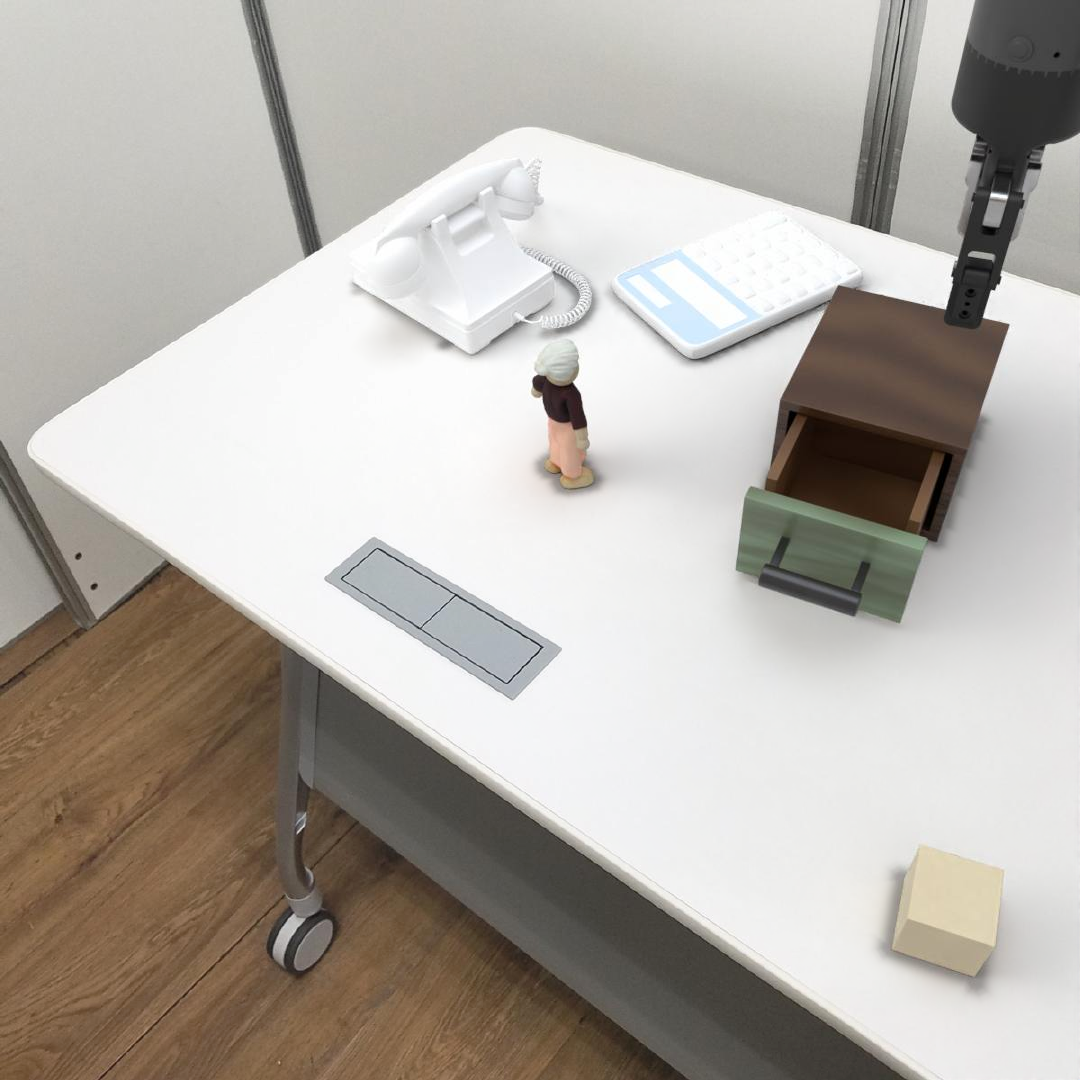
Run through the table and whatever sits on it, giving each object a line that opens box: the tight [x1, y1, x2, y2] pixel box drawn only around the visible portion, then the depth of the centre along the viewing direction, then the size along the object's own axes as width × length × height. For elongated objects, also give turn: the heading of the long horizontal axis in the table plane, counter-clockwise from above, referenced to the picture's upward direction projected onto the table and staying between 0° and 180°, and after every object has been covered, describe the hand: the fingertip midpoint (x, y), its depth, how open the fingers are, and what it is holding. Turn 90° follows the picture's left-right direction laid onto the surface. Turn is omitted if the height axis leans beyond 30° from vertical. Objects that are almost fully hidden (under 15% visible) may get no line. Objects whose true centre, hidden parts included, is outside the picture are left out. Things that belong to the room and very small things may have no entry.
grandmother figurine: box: [530, 337, 595, 490], centre depth 84 cm, size 8×4×13 cm, turn 42°
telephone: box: [348, 157, 593, 355], centre depth 100 cm, size 25×21×12 cm
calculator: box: [611, 210, 864, 360], centre depth 102 cm, size 13×20×2 cm, turn 121°
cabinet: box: [769, 285, 1010, 543], centre depth 84 cm, size 15×13×10 cm
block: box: [891, 844, 1005, 978], centre depth 61 cm, size 4×4×4 cm
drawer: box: [735, 413, 947, 624], centre depth 77 cm, size 18×12×8 cm
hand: (970, 284), depth 71 cm, fingers open, 8 cm apart
